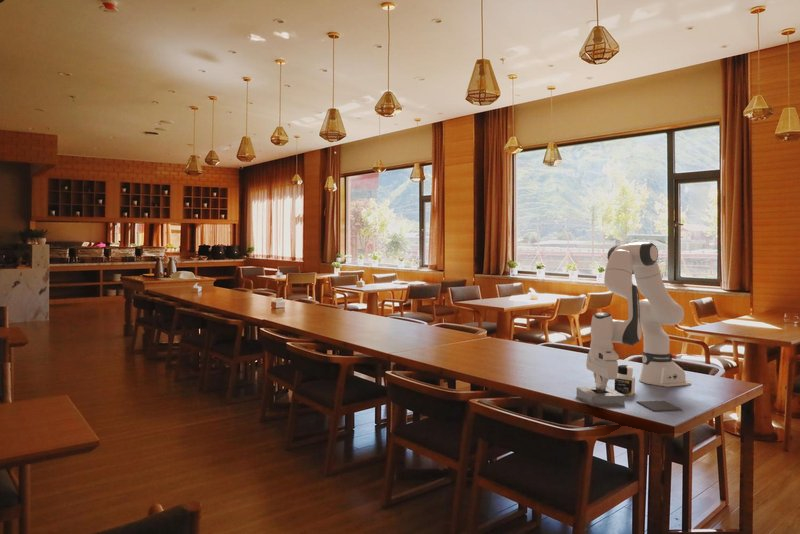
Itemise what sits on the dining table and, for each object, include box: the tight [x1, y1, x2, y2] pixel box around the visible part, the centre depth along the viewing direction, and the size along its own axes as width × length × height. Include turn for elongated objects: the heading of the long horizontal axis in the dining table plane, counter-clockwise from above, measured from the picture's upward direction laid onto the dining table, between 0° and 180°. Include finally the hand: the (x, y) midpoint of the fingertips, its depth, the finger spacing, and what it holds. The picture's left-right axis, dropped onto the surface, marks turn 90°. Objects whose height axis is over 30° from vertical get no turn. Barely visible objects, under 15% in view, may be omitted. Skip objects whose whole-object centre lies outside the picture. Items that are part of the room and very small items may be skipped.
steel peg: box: [595, 373, 606, 393], centre depth 230 cm, size 4×4×10 cm
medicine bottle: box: [613, 364, 636, 397], centre depth 243 cm, size 7×7×12 cm
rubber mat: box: [636, 400, 683, 412], centre depth 223 cm, size 12×12×1 cm
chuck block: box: [576, 386, 626, 407], centre depth 230 cm, size 14×14×4 cm
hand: (600, 385), depth 230 cm, fingers closed on steel peg, 4 cm apart
